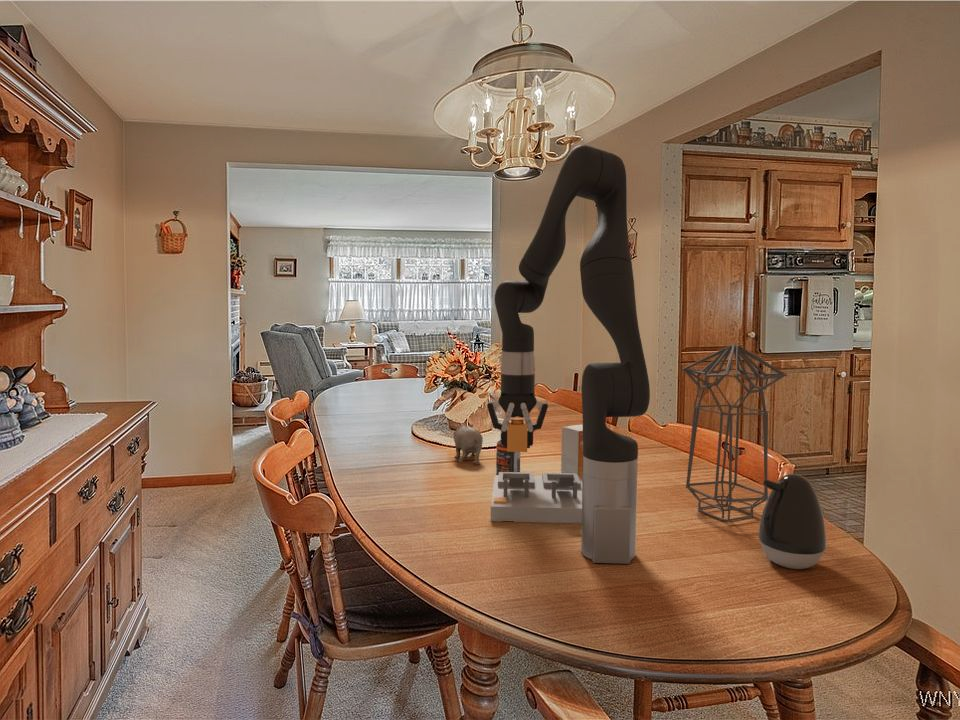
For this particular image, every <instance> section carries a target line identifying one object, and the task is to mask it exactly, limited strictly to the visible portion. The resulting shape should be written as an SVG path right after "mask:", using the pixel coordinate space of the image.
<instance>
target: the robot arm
mask: <svg viewBox="0 0 960 720" xmlns="http://www.w3.org/2000/svg"><path fill="white" fill-rule="evenodd" d="M561 165H562V166H561V168H560V170H559V172H558V175H557V177H556V180H555V183H554V185H553V187H552V190H551V193H550V196H549V199H548V201H547V203H546V207H545V210H544V213H543V216H542V218H541V221H540V223H539V226H538V228H537V230H536V232H535V234H534V237H532V239H531V242H530V243H529V245H528V247H527V249H526V251H525V252H524V254H523V256H522V258H521V260H520V261H519V265H518V272H519V274H520V275H521V277H523V278H524V279H525V280H504V281H502V282H501V283H499V284H498V285H497V287H496V290H495V294H494V305H495V310H496V313H497V318H498V321H499V326H500V329H501V335H502V336H501V337H502V340H501V342H502V343H501V347H502V348H501V351H502V352H501V359H500V396H499V398H498V400H494V401H492V400H489V401H488V402H487V404H486V408H487V410H488V414H489V416H490V420H491V424H492V427H493V429H496V430H499V431H500V433H501V432H502V437H501V436H500V440H501V443H502V445H505V448H507V424H509V421H511V419H512V418H517V417H518V418H522V419H523V418H524V421H525V422H526V424H527V449H531V447H533V444H534V432H535V431H537V430H540V429H542V427H543V425H544V424H543V423H544V421H545V418H546V414H547V411H548V408H549V405H548V402H546V401H543V402H542V401H539V400H537V397H536V395H535V392H536V390H535V388H536V387H535V382H536V381H535V380H536V379H535V378H536V359H535V358H536V357H535V331H534V327H533V326H532V325H530V324H526V323H523V322H522V320H521V318H520V314H531V313H534V312H535V311H536V310H537V309H539V308H540V306H541V305H542V303H543V302H544V299H545V296H546V291H547V288H548V284H549V279H550V277H551V275H553V272H554V271H555V269H556V267H557V266H558V264H559V262H560V261H561V259H562V257H563V255H564V253H565V249H566V243H567V239H566V238H567V234H566V233H567V231H566V217H567V214H568V213H567V212H568V209H569V208H570V206H571V204H572V202H573V201H574V200H575V199H576V197H580V198H581V199H586V200H590V201H593V202H594V203H595V206H596V213H597V218H596V219H597V225H596V228H595V230H594V232H593V235H592V236H591V237H590V239H589V241H588V243H587V245H586V246H585V248H584V249H583V252H582V254H581V257H580V261H579V271H580V282H581V283H580V284H581V291H582V292H581V293H582V294H581V295H582V297H583V300H584V302H585V303H586V305H587V307H588V308H589V310H590V311H591V312H592V313H593V315H594V316H595V318H596V319H597V320H598V321H599V322H600V323H601V325H602V326H603V327H604V329H605V330H606V331H607V333H608V334H609V336H610V337H611V339H612V341H613V342H614V345H615V348H616V350H617V353H618V357H619V361H620V362H592V363H589V364H587V365H586V366H585V368H584V370H583V373H582V377H581V407H582V408H581V409H582V424H583V481H582V523H581V541H580V542H581V544H580V546H581V547H580V549H581V550H580V552H581V554H582V555H583V556H584V557H585V558H588V559H589V560H591V562H592V563H595V564H625V565H626V564H628V565H629V564H631V561H632V560H633V559H635V557H636V541H637V540H636V535H637V533H636V532H637V499H638V498H637V497H638V496H637V495H638V465H639V464H638V463H639V462H638V461H639V445H638V442H637V440H635V439H634V438H632V437H630V436H627V435H624V434H621V433H619V432H615V431H614V430H612V429H610V428H609V427H608V426H607V424H606V418H631V417H634V418H635V417H641V416H643V415H645V414H646V413H647V412H648V409H649V407H650V406H649V405H650V400H651V390H650V381H649V380H650V379H649V374H648V368H647V364H646V358H645V354H644V353H645V352H644V348H643V343H642V339H641V333H640V327H639V322H638V320H639V319H638V314H637V303H636V302H637V301H636V291H635V280H634V272H633V271H634V270H633V262H632V257H631V251H630V240H629V230H628V229H629V228H628V214H627V212H628V210H627V208H628V207H627V205H628V203H627V195H628V194H627V171H626V166H625V164H624V161H623V159H622V158H621V157H620V156H618V155H616V154H614V153H613V152H610V151H606V150H602V149H600V148H597V147H595V146H590V145H586V144H579V145H576V146H575V147H574V148H573V149H571V150H570V152H569V153H568V154H567V156H566V157H565V160H564V162H563V164H561ZM498 406H500V407H501V408H502V410H503V412H504V413H505V414H504V418H503V421H502V423H501V422H500V421H499V419H498V416H497V413H496V412H497V411H498V408H499V407H498ZM535 406H536V407H537V408H536V409H537V411H538V412H539V413H538V415H537V419H536V422H535V423H533V421H532V418H531V412H532V410H533V409H534V408H535Z"/></svg>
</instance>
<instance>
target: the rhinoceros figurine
mask: <svg viewBox="0 0 960 720" xmlns="http://www.w3.org/2000/svg"><path fill="white" fill-rule="evenodd" d="M453 442H454V446H455V453H456V455H455V456H454V458H455V459H458V461H459V463H465V462H466V460H467V459H468V456H469V455H470V456H471V455H473V456H474V461H473V466H474V465H475V466H478V465H480V466H481V463H480V454H481V451H482V447H483V436H482V434H481V432H480V429H476V428H474V424H472V423H470V424H469V425H468V426H467V425H466V424H463V423H461V424H460V425H459V426H458V427H457V428H456V429H455V431H454V432H453ZM461 451H462V454H461Z"/></svg>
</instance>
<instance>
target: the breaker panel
mask: <svg viewBox="0 0 960 720" xmlns="http://www.w3.org/2000/svg"><path fill="white" fill-rule="evenodd" d="M534 474H535V473H534V472H527V471H526V472H523V471H522V472H521V471H520V472H499V475H496V474H495V475H494V477H493V478H494V479H493V486H492V494H491V500H490V501H491V502H490V522H501V521H514V523H544V524H545V523H547V524H549V523H550V524H551V523H553V524H554V523H555V524H582V478H581V477H578V474H577V473H561V472H542V474H541V475H534ZM559 477H566V478H574V486H573V487H571V488H570V489H556V481H557V479H558V478H559ZM509 478H523V486H509Z"/></svg>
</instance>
